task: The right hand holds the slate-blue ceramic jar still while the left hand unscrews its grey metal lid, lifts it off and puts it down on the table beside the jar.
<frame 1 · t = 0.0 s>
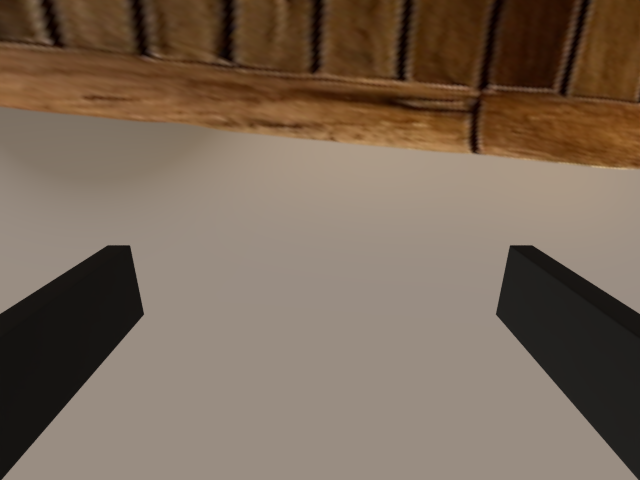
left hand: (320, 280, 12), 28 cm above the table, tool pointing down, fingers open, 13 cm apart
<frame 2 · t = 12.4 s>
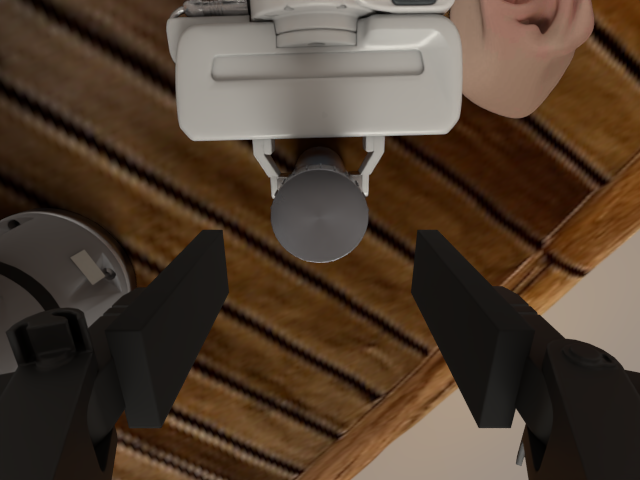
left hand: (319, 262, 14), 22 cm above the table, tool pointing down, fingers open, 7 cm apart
right hand: (320, 196, 28), fingers closed on jar, 5 cm apart
anatomical model: (510, 34, 30), on the table
jar: (319, 171, 34), on the table, touching right hand
lid: (319, 216, 20), point 15 cm above the table, screwed on, not yet turned
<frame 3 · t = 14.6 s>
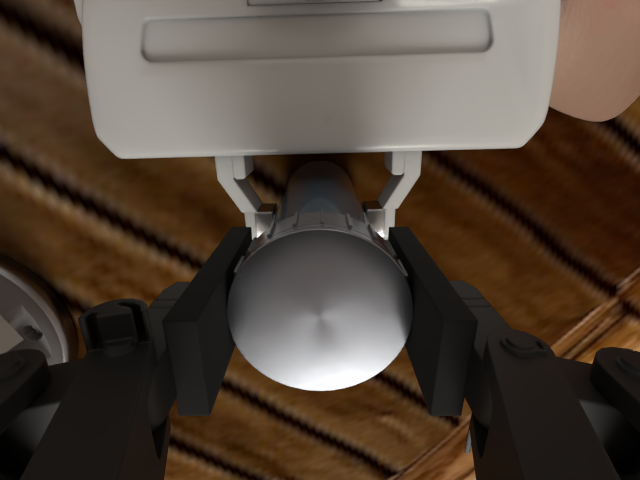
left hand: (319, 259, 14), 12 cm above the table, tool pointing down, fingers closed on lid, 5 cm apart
right hand: (321, 238, 19), fingers closed on jar, 5 cm apart
anatomical model: (595, 0, 21), on the table
jar: (320, 194, 25), on the table, touching right hand
lid: (320, 311, 10), point 15 cm above the table, screwed on, not yet turned, touching left hand
when the left hand's fingers open (0 cm above the table, at t = 24.3 s): lid drops 3 cm, point 1 cm above the table.
when the right hand's fingers open (7 cm above the table, at t = 24.9 s): jar stays where it is, on the table.
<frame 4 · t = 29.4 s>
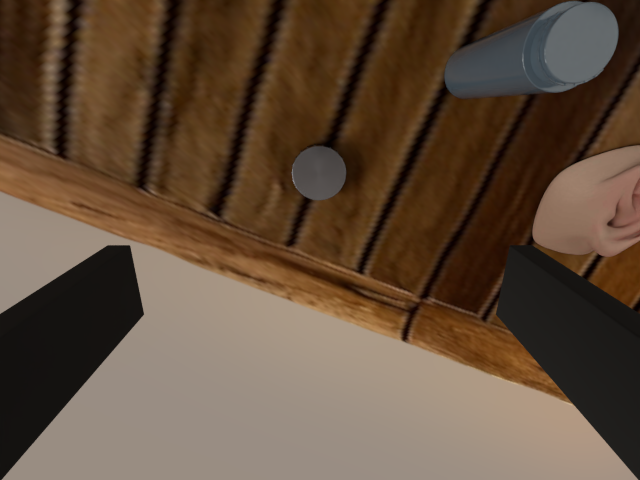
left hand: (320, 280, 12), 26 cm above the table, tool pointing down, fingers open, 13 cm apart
anatomical model: (593, 203, 38), on the table
jar: (469, 72, 34), on the table
lid: (319, 173, 36), point 1 cm above the table, off its thread
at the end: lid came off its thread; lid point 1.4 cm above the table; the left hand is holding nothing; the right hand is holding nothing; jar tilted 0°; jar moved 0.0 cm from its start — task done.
